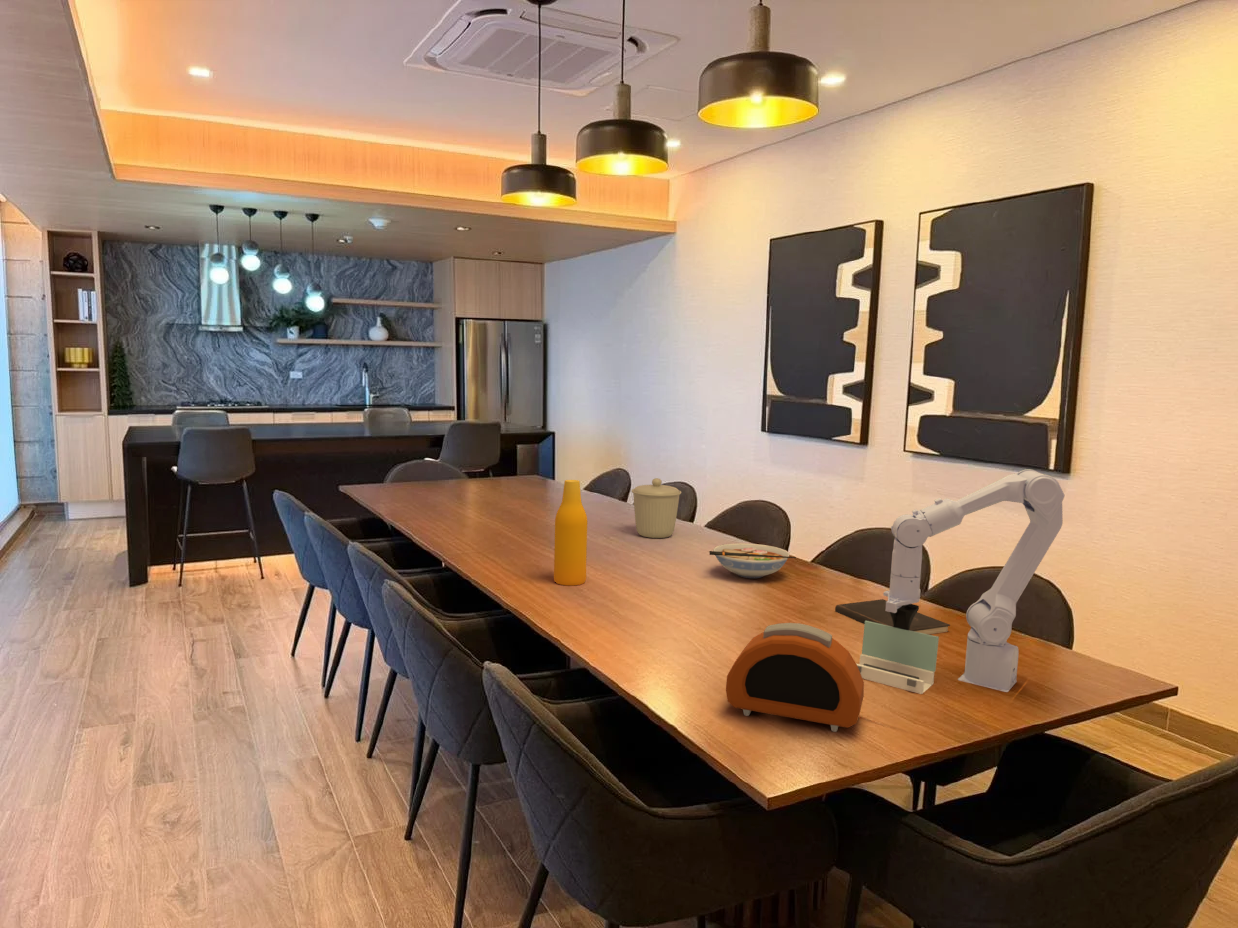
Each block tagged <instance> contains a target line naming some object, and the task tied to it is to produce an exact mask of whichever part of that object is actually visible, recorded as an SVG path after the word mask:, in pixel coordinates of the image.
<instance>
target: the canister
mask: <svg viewBox="0 0 1238 928" xmlns="http://www.w3.org/2000/svg"><path fill="white" fill-rule="evenodd" d="M662 482H663V481H662V480H661V478H659V477H658V478H656V477H654V478H653V479H652V480H651V484H642V485H637V486H635V487H634V488H633V489H631V493H632V494H633V506H634V507H633V509H634V510H633V511H634V520H635V529H636V532H637V534H638V535H640V536H641V537H644V538H650V539H651V538H652V539H665V538H668V537H671V536H672V535H673V533H674V531H675V528H676V522H677V515H678V509H679V501H680V495H681V494H682V491H681V490H679V489H678V488H677V487H675V486H670V485H666V484H665V485H664V484H662Z"/></svg>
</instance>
